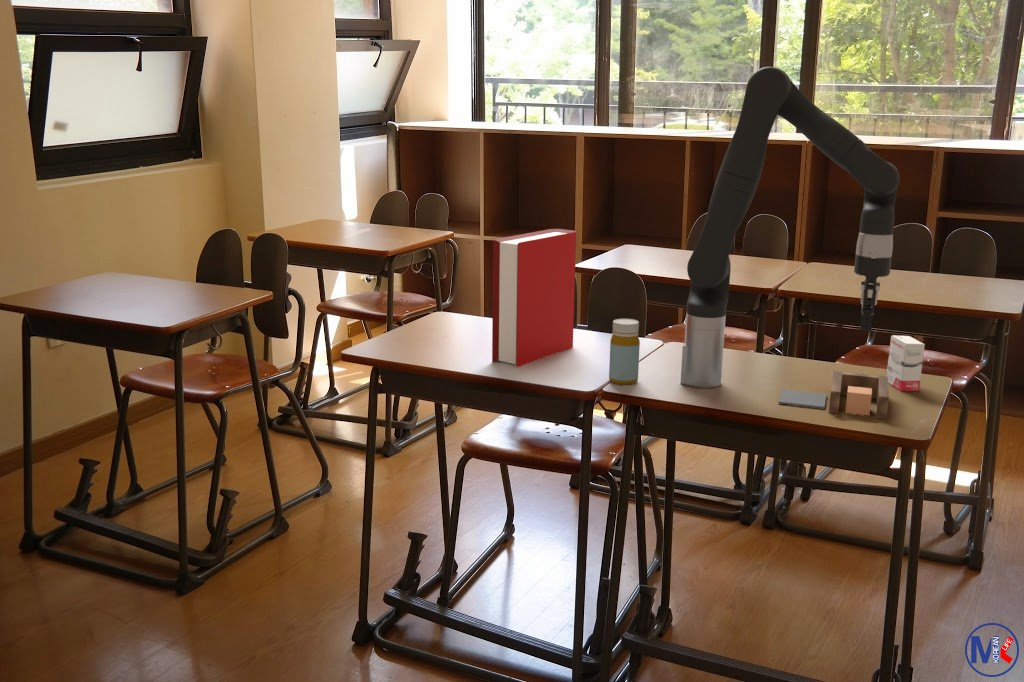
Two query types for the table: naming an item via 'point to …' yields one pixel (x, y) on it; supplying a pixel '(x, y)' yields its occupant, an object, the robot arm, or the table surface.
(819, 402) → the pad
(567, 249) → the book
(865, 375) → the cubby
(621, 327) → the bottle
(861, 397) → the cube
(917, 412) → the table surface
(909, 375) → the ink box
